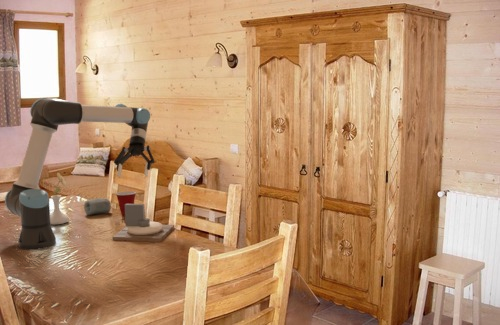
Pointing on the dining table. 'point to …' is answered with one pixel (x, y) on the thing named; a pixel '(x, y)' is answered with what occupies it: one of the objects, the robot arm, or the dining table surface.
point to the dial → (139, 221)
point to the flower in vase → (57, 215)
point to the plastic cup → (125, 200)
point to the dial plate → (151, 237)
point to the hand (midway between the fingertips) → (132, 175)
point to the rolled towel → (97, 206)
